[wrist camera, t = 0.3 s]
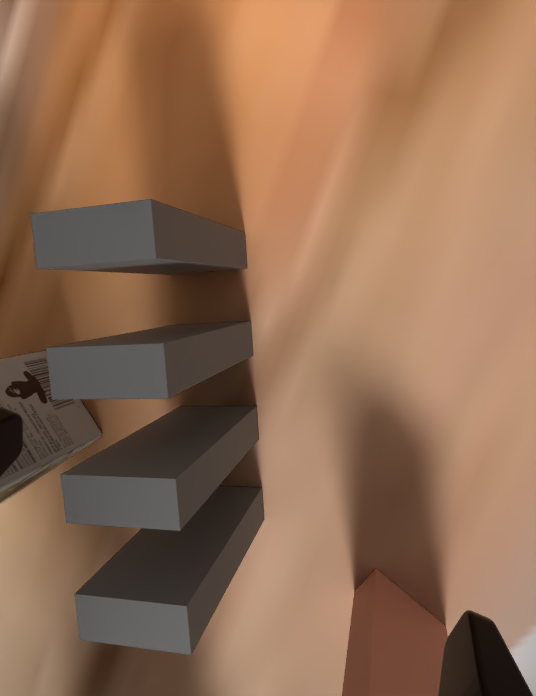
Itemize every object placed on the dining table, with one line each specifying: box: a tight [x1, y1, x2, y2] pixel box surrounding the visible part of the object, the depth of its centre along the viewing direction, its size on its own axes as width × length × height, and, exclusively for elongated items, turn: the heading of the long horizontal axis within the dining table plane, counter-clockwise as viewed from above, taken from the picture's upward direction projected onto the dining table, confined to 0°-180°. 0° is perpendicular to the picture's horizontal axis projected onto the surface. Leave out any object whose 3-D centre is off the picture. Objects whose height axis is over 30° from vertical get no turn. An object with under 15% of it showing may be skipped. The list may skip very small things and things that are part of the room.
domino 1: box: [31, 199, 247, 275], centre depth 20 cm, size 2×4×10 cm, turn 94°
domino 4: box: [75, 486, 264, 655], centre depth 22 cm, size 2×4×10 cm, turn 94°
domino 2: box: [46, 321, 253, 400], centre depth 21 cm, size 2×4×10 cm, turn 94°
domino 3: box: [61, 406, 259, 531], centre depth 21 cm, size 2×4×10 cm, turn 94°
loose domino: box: [342, 569, 448, 696], centre depth 20 cm, size 2×4×10 cm, turn 54°
